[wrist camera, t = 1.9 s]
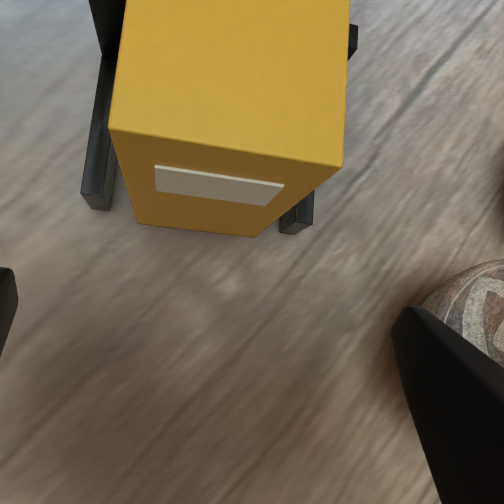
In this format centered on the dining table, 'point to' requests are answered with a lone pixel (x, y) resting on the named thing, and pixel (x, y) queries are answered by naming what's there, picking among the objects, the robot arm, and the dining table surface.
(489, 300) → the pottery
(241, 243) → the dining table surface
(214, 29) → the storage box
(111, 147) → the rack
